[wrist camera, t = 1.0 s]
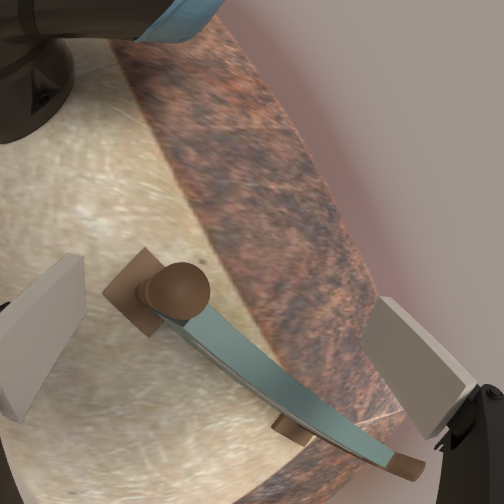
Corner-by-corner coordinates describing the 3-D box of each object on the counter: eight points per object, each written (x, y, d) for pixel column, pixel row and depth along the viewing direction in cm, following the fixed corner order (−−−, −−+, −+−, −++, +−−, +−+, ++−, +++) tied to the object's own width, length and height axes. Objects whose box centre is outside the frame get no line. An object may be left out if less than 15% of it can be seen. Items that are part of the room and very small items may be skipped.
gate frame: (102, 293, 24) (63, 292, 8) (144, 248, 26) (181, 175, 10) (300, 444, 30) (409, 503, 14) (327, 408, 33) (443, 449, 17)
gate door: (152, 310, 25) (182, 328, 12) (164, 297, 25) (206, 300, 13) (295, 422, 29) (384, 468, 17) (304, 411, 30) (395, 452, 17)
